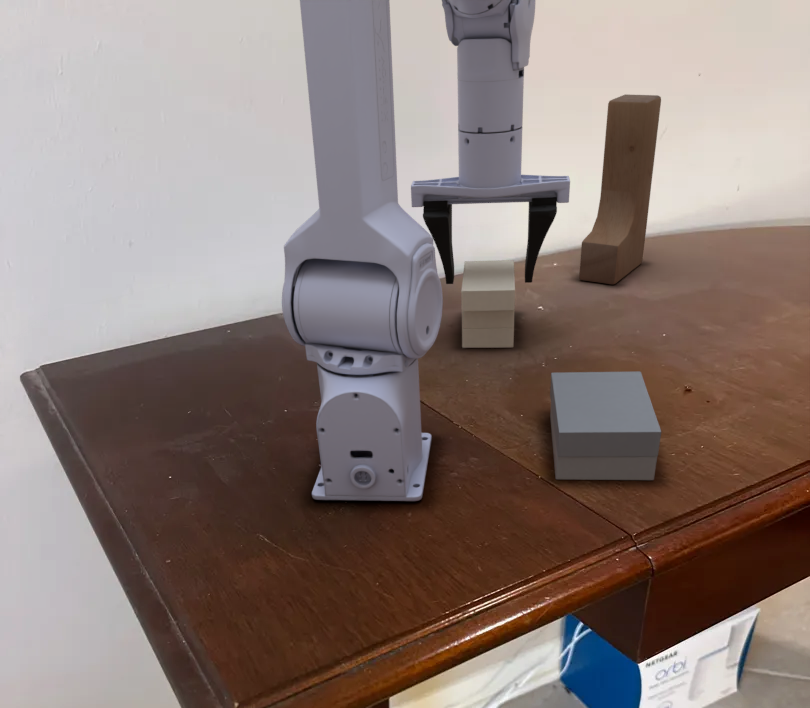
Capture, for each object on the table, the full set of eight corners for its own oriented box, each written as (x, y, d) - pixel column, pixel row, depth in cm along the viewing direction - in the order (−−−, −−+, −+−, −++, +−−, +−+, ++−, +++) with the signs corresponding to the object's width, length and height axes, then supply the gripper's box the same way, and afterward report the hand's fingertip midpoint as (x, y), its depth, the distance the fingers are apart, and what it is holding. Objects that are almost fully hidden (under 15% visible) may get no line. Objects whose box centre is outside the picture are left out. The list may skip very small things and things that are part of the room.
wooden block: (614, 286, 92) (632, 108, 82) (577, 280, 94) (590, 106, 84) (643, 263, 98) (662, 94, 88) (607, 258, 100) (622, 93, 90)
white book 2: (513, 347, 79) (513, 328, 78) (462, 348, 80) (461, 328, 79) (513, 314, 87) (513, 296, 85) (466, 315, 87) (466, 296, 86)
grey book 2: (653, 480, 59) (657, 456, 57) (555, 479, 59) (557, 456, 58) (636, 416, 67) (639, 394, 65) (550, 416, 67) (551, 394, 66)
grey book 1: (657, 456, 57) (661, 431, 56) (557, 457, 58) (559, 432, 57) (638, 394, 65) (640, 371, 64) (549, 395, 66) (551, 372, 65)
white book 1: (513, 328, 78) (514, 307, 77) (461, 328, 79) (461, 308, 78) (513, 296, 85) (514, 277, 84) (466, 296, 86) (465, 277, 85)
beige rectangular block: (514, 310, 76) (515, 289, 75) (461, 311, 77) (461, 290, 76) (513, 279, 84) (513, 259, 83) (464, 280, 84) (464, 261, 83)
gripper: (570, 117, 75) (561, 265, 83) (413, 123, 76) (419, 268, 84) (575, 130, 69) (565, 289, 77) (405, 137, 71) (413, 291, 79)
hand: (489, 280), depth 80 cm, fingers open, 7 cm apart
